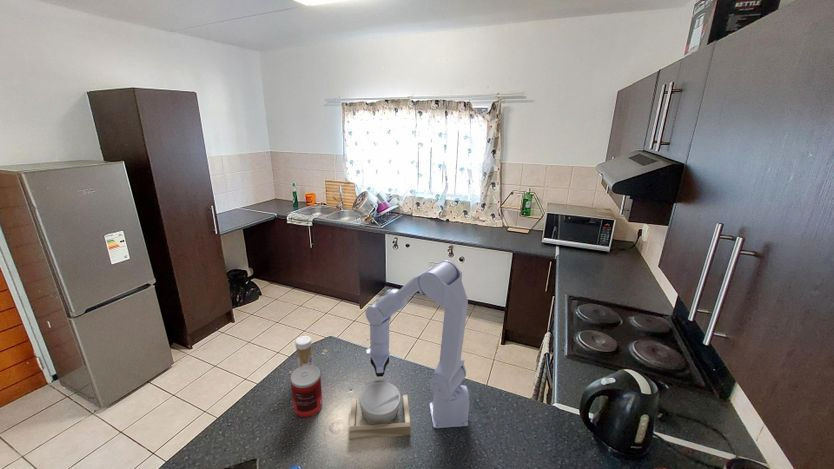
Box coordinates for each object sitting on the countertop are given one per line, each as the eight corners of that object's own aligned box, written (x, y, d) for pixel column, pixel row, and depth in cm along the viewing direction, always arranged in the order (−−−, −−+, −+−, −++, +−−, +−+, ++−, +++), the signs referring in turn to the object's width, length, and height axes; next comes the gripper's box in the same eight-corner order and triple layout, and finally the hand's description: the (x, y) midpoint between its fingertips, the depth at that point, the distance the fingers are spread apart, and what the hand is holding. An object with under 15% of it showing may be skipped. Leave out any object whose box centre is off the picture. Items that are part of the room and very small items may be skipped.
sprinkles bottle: (310, 381, 99) (307, 345, 94) (296, 380, 99) (292, 343, 95) (316, 370, 103) (313, 335, 99) (302, 369, 103) (298, 334, 99)
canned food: (312, 391, 95) (309, 360, 92) (328, 405, 90) (326, 374, 87) (288, 407, 89) (284, 375, 86) (304, 423, 85) (300, 390, 81)
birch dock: (352, 406, 90) (352, 398, 89) (407, 402, 92) (407, 394, 91) (349, 439, 81) (349, 430, 80) (410, 435, 83) (410, 426, 82)
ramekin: (389, 435, 82) (389, 420, 81) (352, 421, 86) (351, 406, 84) (406, 402, 92) (406, 388, 91) (372, 391, 96) (371, 377, 94)
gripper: (367, 324, 102) (367, 359, 107) (365, 355, 89) (366, 393, 93) (389, 323, 103) (389, 358, 107) (390, 354, 89) (390, 392, 94)
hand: (380, 374), depth 100 cm, fingers closed
